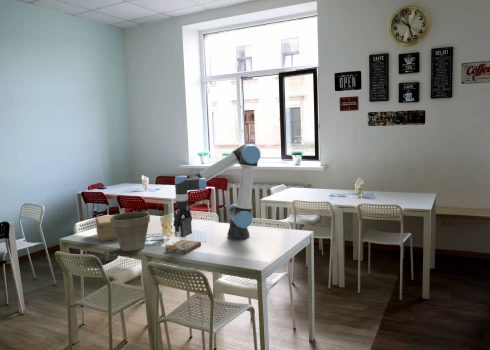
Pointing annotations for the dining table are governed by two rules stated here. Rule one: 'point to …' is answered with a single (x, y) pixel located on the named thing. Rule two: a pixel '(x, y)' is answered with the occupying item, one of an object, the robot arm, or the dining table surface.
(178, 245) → the brown wooden slab
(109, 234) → the paper package
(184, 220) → the small box
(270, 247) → the dining table surface
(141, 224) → the plant pot
